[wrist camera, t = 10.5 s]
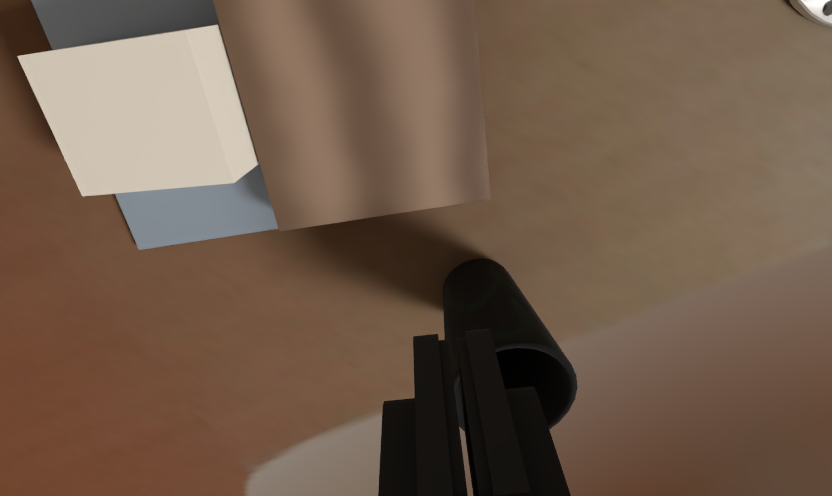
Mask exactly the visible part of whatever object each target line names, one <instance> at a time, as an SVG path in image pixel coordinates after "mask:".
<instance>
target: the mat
mask: <svg viewBox="0 0 832 496" xmlns="http://www.w3.org/2000/svg"><path fill="white" fill-rule="evenodd" d="M31 2H32V4H33V6H34V9H35V11H36V13H37V16H38V18H39V20H40V22H41V25H42V27H43V29H44V32H45V34H46V36H47V39H48V41H49V43H50V46H51V48H52V50H57V49H63V48H69V47H76V46H82V45H89V44H95V43H102V42H108V41H114V40H121V39H127V38H134V37H140V36H147V35H153V34H160V33H166V32H173V31H179V30H186V29H192V28H199V27H205V26H212V25H218V24H219V21H218V17H217V14H216V10H215V7H214V3H213V0H31ZM115 196H116V198H117V200H118V202H119V205H120V207H121V209H122V212H123V214H124V216H125V219H126V221H127V223H128V226H129V228H130V230H131V232H132V235H133V237H134V239H135V242H136V244H137V246H138V249H139V250H142V249H148V248H155V247H161V246H168V245H174V244H181V243H187V242H194V241H200V240H207V239H214V238H220V237H227V236H233V235H240V234H246V233H253V232H259V231H266V230H272V229H278V226H277V222H276V219H275V215H274V212H273V208H272V205H271V201H270V198H269V194H268V191H267V187H266V184H265V181H264V177H263V174H262V170H261V167H260V163H259V164H258V165H257V166H255V167H254V168H253V169H252V170H250V171H249V172H248V173H246V174H245V175H244V176H243V177H241V178H240V179H239V180H237V181H236V182H235V183H230V184H219V185H207V186H196V187H184V188H173V189H161V190H150V191H138V192H127V193H115Z"/></svg>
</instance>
